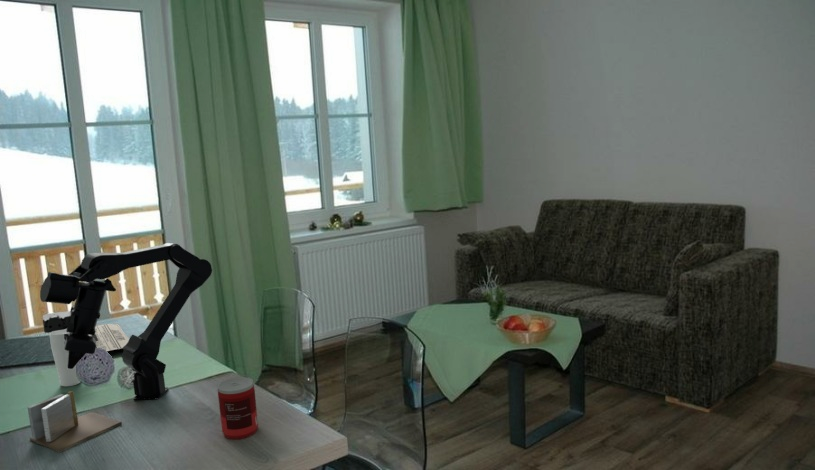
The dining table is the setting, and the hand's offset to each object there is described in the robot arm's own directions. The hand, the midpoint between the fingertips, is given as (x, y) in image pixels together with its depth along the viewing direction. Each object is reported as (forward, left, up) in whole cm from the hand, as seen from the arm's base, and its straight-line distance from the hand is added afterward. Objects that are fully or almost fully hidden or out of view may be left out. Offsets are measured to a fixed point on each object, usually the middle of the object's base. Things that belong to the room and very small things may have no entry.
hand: (69, 368), depth 153 cm
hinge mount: (-5, +9, -12) cm, 16 cm away
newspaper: (+21, -56, -13) cm, 61 cm away
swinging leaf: (-3, +12, -11) cm, 16 cm away
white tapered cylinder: (+13, -20, -12) cm, 27 cm away
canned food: (-44, +12, -12) cm, 47 cm away
